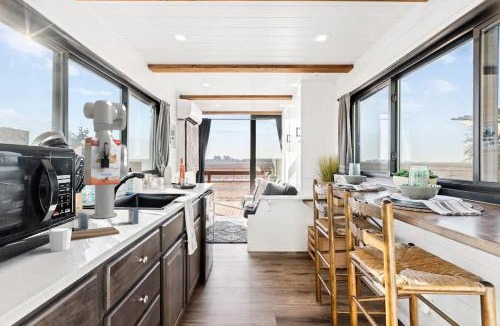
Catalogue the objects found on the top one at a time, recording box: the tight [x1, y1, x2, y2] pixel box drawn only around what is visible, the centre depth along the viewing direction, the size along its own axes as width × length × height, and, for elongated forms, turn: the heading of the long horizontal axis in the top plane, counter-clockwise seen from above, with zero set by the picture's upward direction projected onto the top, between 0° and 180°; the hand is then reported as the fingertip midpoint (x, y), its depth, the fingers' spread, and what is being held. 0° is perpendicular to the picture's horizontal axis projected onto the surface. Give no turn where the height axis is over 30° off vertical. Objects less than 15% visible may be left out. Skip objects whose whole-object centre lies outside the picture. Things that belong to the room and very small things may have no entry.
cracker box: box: [83, 136, 122, 186], centre depth 126 cm, size 14×6×21 cm, turn 149°
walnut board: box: [70, 226, 120, 242], centre depth 119 cm, size 11×18×1 cm, turn 129°
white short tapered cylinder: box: [48, 227, 73, 253], centre depth 99 cm, size 7×7×7 cm
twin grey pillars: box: [77, 207, 139, 231], centre depth 134 cm, size 6×25×7 cm, turn 129°
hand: (102, 167), depth 126 cm, fingers closed on cracker box, 7 cm apart
